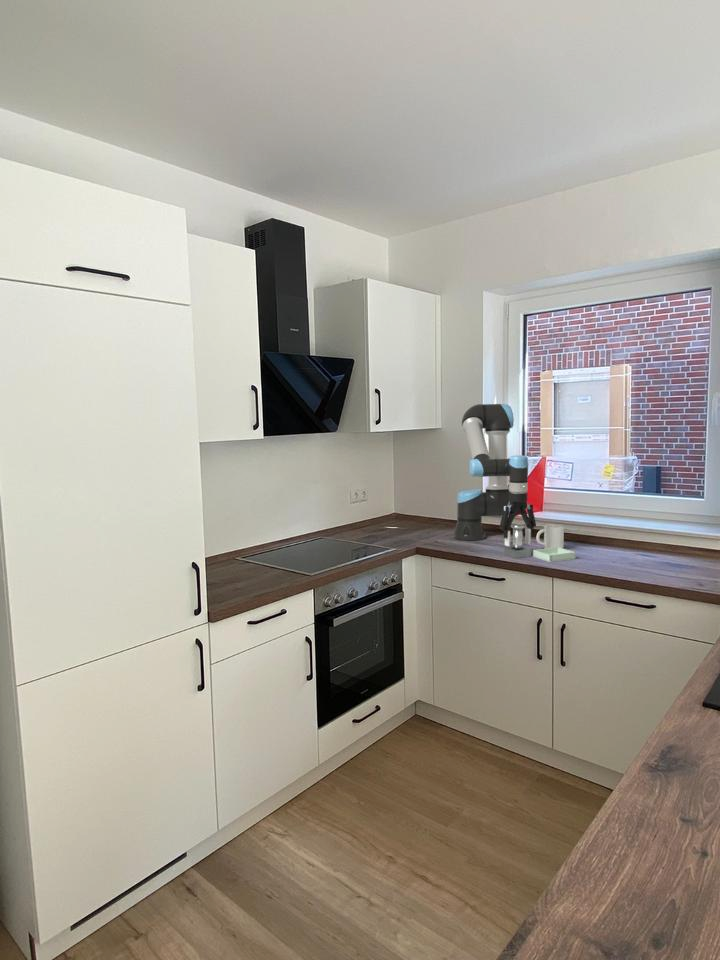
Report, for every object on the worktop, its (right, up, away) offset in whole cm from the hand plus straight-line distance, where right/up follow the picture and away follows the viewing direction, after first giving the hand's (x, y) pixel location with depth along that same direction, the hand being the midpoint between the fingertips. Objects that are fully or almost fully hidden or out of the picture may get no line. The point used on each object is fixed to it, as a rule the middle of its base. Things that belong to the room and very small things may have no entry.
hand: (517, 544), depth 262 cm
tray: (+14, -5, -5) cm, 16 cm away
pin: (0, -5, 0) cm, 5 cm away
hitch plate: (0, -5, 0) cm, 5 cm away
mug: (+17, -3, +12) cm, 22 cm away
